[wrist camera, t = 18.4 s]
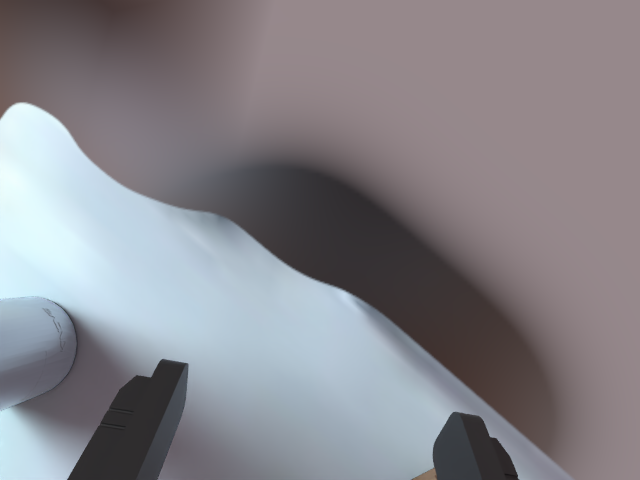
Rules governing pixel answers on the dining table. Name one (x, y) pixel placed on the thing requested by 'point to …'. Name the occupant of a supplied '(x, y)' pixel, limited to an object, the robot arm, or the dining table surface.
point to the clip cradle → (427, 475)
